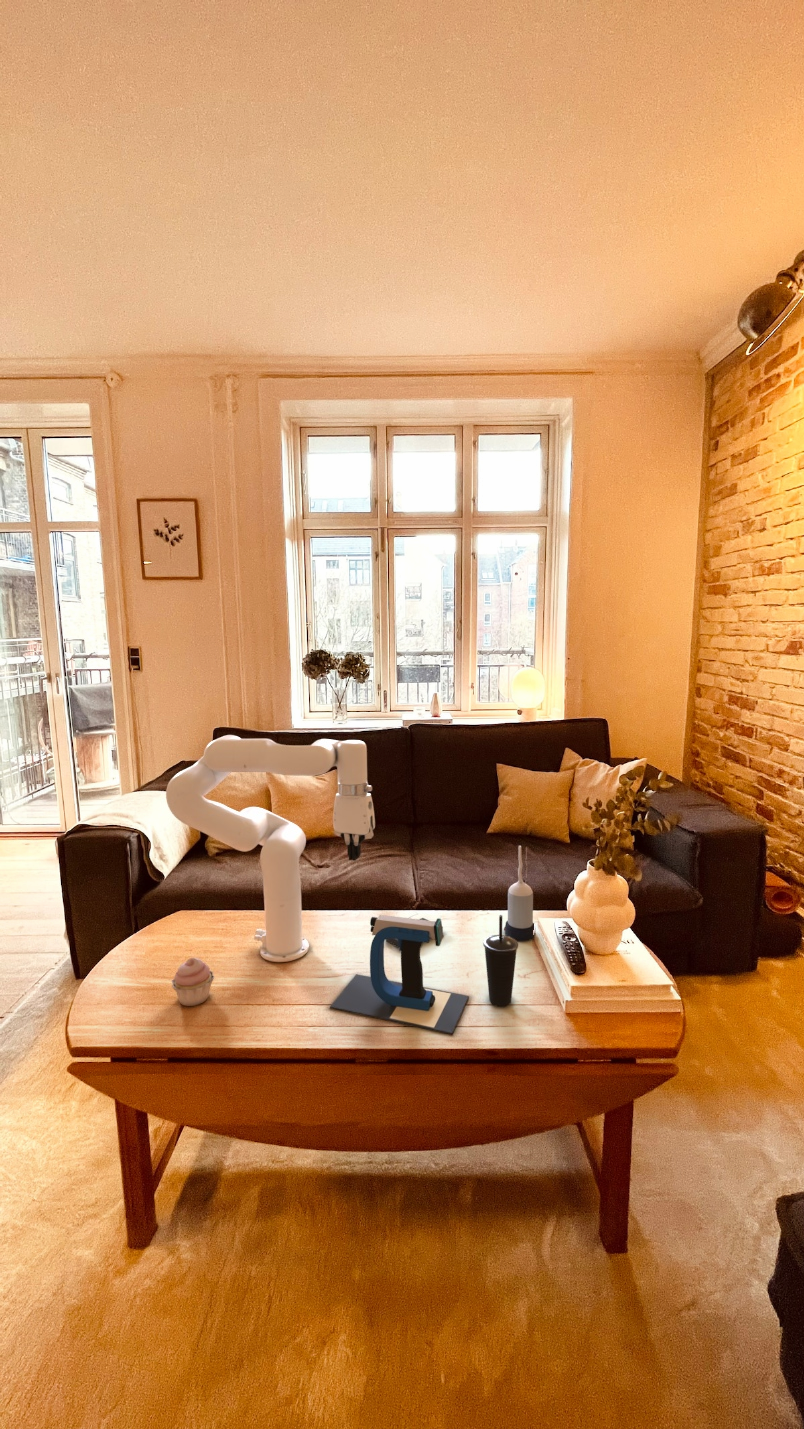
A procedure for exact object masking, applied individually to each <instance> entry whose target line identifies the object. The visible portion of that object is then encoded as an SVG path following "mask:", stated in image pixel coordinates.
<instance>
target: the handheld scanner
mask: <svg viewBox="0 0 804 1429" xmlns="http://www.w3.org/2000/svg"><path fill="white" fill-rule="evenodd" d="M420 919H421V918H410V917H401V916H394V915H386V914H379V915H378V916H377V917H376V916H371V917H370V920H369V924H370V933H371V936H373V938H372V941H371V944H370V952H369V977H371V982H372V986H373V989H374V991H375V992H376V994H377V995H378V996H379V997H380V998H381V999H382V1000H383V1001H384V1002H386V1003H388V1004H390V1005H392V1006H397V1007H404V1008H411V1009H417V1010H424V1011H429V1009H430V1007H432V1006H433V1005H434V1002H435V995H433V991H428V990H425V989H424V988H423V987H424V978H423V977H424V971H423V963H422V960H421V948H422V946H423V944H424V943H427V944H428V943H430V941H431V940H433V941H434V942H435V946H436V947H440V946H441V943H442V942H443V938H444V929H443V930H442V927H443V923H442V919H441V918H438V917H437V918H436V920H429V919H427V920H420ZM428 920H429V921H428ZM390 938H393V939H398V943H399V948H398V950H399V952H400V971H401V983H402V987H400V986H396V985H394V984H392V983H391V982H390V981H391V980H389V979H388V977H387V975H386V971H385V954H384V953H385V941H386V939H390ZM430 938H432V939H430Z"/></svg>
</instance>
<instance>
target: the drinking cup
mask: <svg viewBox="0 0 804 1429" xmlns="http://www.w3.org/2000/svg"><path fill="white" fill-rule="evenodd" d="M498 916H499V917H498V925H499V926H498V934H493V935H489V936H487V937H485V938H484V939H483V941H482V944H483V947H484V955H485V967H486V975H487V976H486V977H487V978H486V979H487V989H488V1001H489V1003H490V1004H491V1005H493V1006H494V1007H499V1008H505V1007H508V1006H510V1005H511V1003H512V999H513V998H512V997H513V988H514V987H513V986H514V978H515V970H516V969H515V968H516V960H517V950H518V948H519V941H516V940H515V939H513V938H511V937H509V936H506V934H505V935H504V934H503V915H502V914H499V915H498Z"/></svg>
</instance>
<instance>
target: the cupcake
mask: <svg viewBox="0 0 804 1429" xmlns="http://www.w3.org/2000/svg"><path fill="white" fill-rule="evenodd" d="M173 977H174V978H173V979H171V983H172V985H171V987H172V989H173V990H174V991H175V993H176V995H177V998H178V1002H179V1003H180V1004H181V1005H182V1006H185V1007H193V1006H199V1005H201V1004H204V1002H206V1000H208V998H209V996H210V991H211V987H212V983H213V981H214V979H215V976H214V971H213V970H210V966H209V965H208V964H207V963H206V962H204V961H203V960H201V959H200V958H198V957H190V958H189V959H187V961H185V962H183V963H181V964H180V965H179V966H178V968H177V970H176V973H175V975H174V976H173Z"/></svg>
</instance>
